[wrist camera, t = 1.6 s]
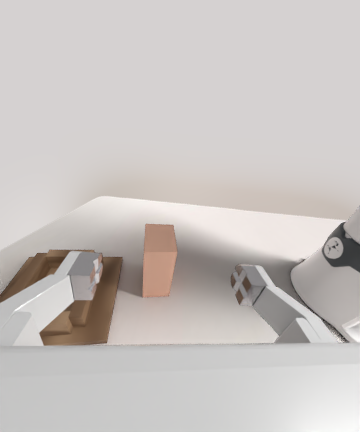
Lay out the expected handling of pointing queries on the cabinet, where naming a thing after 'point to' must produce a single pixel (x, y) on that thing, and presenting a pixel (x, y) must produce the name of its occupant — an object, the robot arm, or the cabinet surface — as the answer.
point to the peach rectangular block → (158, 259)
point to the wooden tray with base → (79, 309)
